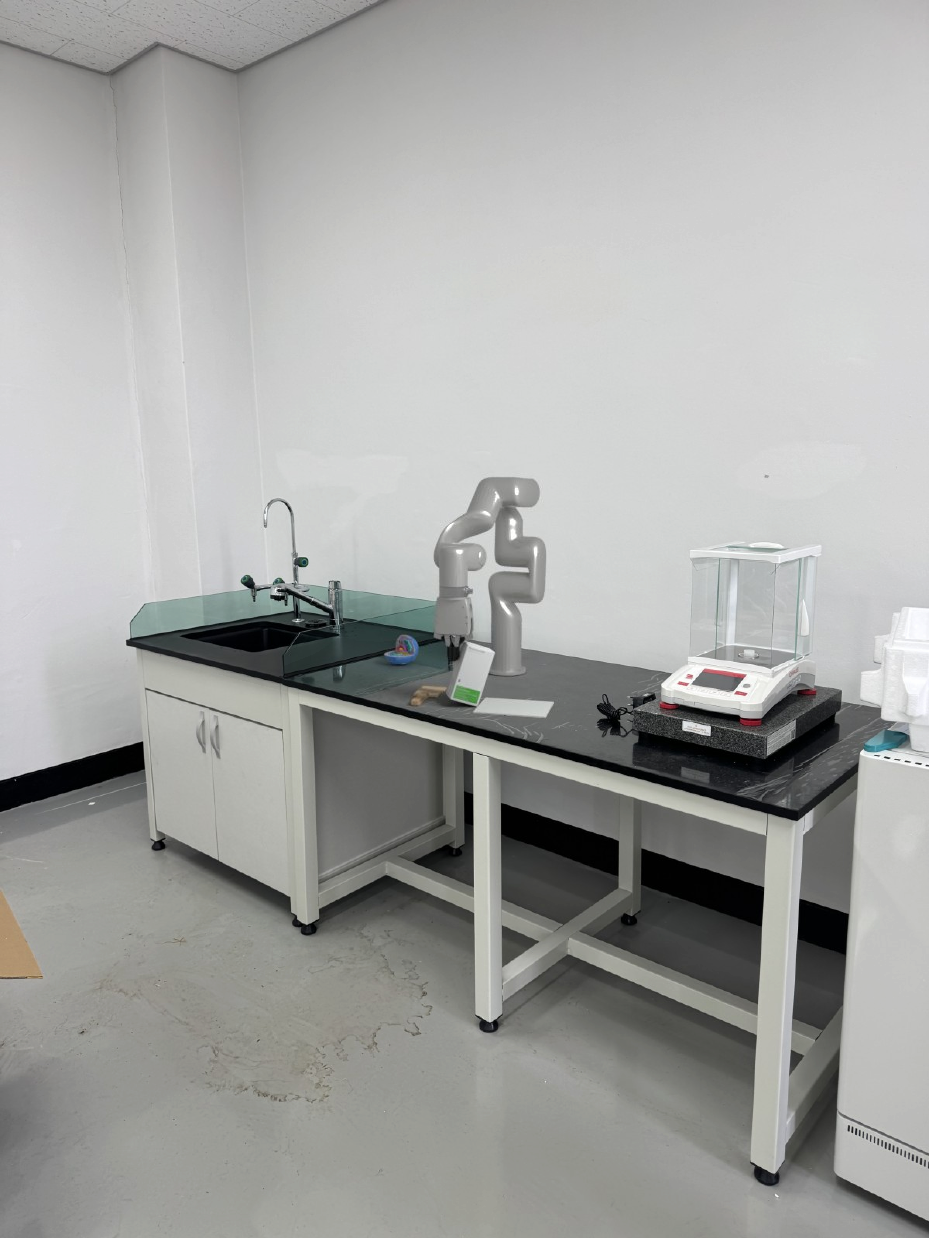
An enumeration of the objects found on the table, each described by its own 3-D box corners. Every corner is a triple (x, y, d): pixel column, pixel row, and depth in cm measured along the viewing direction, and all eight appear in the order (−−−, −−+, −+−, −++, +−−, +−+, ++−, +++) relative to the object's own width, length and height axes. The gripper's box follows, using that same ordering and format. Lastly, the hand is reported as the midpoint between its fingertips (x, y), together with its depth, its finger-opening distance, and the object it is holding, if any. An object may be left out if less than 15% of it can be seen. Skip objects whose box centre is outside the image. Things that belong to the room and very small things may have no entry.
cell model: (377, 664, 283) (377, 635, 281) (406, 659, 291) (406, 631, 289) (396, 669, 276) (396, 640, 274) (425, 664, 284) (425, 635, 282)
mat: (485, 698, 241) (485, 697, 240) (553, 703, 236) (553, 701, 236) (472, 713, 226) (472, 711, 226) (545, 718, 222) (545, 716, 222)
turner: (423, 687, 254) (423, 683, 253) (446, 689, 252) (446, 685, 252) (402, 704, 234) (402, 700, 234) (426, 706, 233) (426, 701, 233)
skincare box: (449, 700, 230) (466, 644, 229) (445, 693, 237) (461, 639, 235) (479, 707, 232) (496, 652, 231) (474, 701, 239) (490, 647, 237)
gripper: (484, 591, 232) (483, 659, 235) (430, 589, 235) (430, 656, 238) (477, 595, 224) (477, 665, 228) (422, 593, 228) (422, 661, 231)
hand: (453, 660), depth 233 cm, fingers closed
